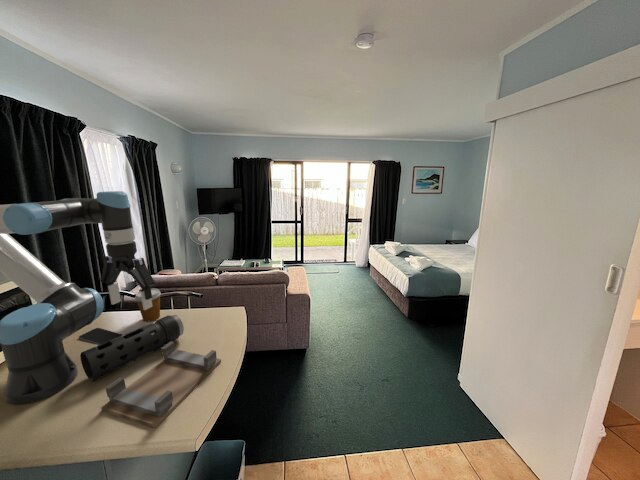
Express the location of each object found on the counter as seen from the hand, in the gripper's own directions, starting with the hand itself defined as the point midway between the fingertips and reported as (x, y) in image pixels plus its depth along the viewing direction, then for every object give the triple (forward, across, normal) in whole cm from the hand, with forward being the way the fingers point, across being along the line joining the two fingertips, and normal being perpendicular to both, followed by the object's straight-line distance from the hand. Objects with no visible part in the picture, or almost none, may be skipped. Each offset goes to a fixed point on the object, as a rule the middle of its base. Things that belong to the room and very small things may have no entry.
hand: (131, 305), depth 90 cm
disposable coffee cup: (+19, -19, +22) cm, 35 cm away
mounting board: (+19, +19, -7) cm, 28 cm away
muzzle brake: (+20, 0, 0) cm, 20 cm away
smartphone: (+20, -25, +5) cm, 33 cm away
